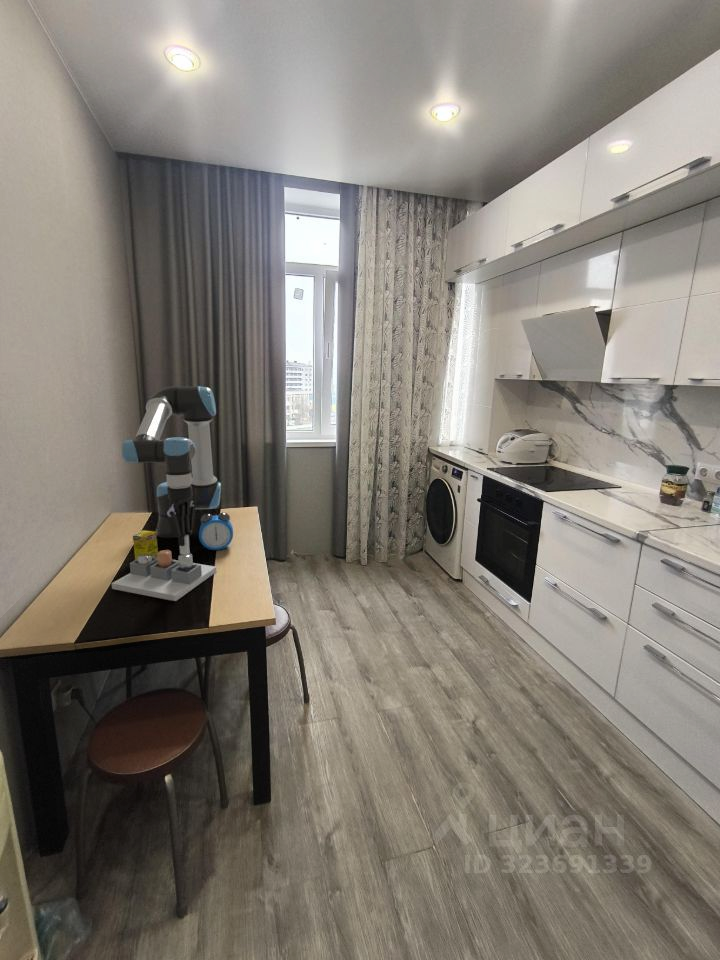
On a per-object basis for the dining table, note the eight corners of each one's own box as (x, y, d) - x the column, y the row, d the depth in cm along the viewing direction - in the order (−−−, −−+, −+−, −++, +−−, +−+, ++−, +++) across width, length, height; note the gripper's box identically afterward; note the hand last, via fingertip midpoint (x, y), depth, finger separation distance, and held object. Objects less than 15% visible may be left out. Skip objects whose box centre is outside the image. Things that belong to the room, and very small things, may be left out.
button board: (159, 562, 165) (157, 547, 164) (216, 571, 159) (215, 556, 157) (112, 588, 145) (110, 572, 143) (175, 601, 138) (174, 584, 137)
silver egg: (185, 565, 151) (184, 552, 150) (196, 567, 150) (195, 554, 148) (176, 571, 147) (175, 557, 145) (187, 573, 146) (186, 559, 144)
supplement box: (149, 564, 163) (146, 537, 161) (135, 562, 165) (131, 535, 162) (159, 557, 169) (156, 531, 166) (145, 556, 170) (142, 529, 168)
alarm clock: (200, 552, 175) (197, 517, 171) (200, 546, 181) (198, 512, 177) (233, 549, 179) (232, 514, 175) (233, 543, 184) (231, 510, 181)
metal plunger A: (145, 566, 156) (143, 553, 155) (155, 567, 155) (154, 554, 154) (135, 571, 152) (134, 557, 151) (146, 573, 151) (145, 559, 150)
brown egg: (164, 562, 153) (163, 549, 152) (175, 564, 152) (173, 550, 151) (155, 567, 149) (154, 554, 148) (166, 569, 148) (165, 555, 147)
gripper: (183, 480, 148) (188, 545, 154) (155, 489, 136) (162, 559, 141) (202, 482, 146) (206, 547, 152) (175, 491, 134) (181, 562, 139)
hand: (185, 553), depth 147 cm, fingers closed
